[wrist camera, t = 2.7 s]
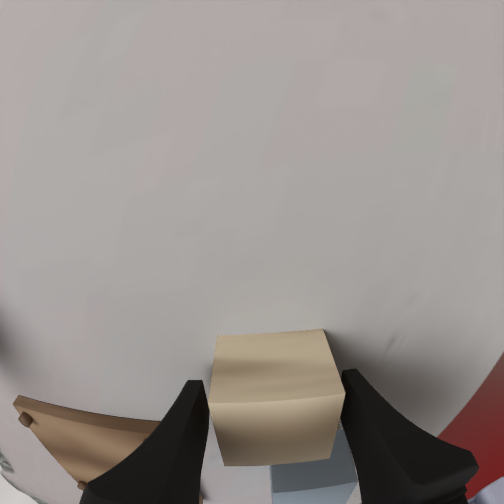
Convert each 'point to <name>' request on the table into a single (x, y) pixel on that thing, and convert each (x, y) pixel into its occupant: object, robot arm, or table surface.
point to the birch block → (275, 398)
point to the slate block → (316, 478)
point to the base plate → (83, 437)
